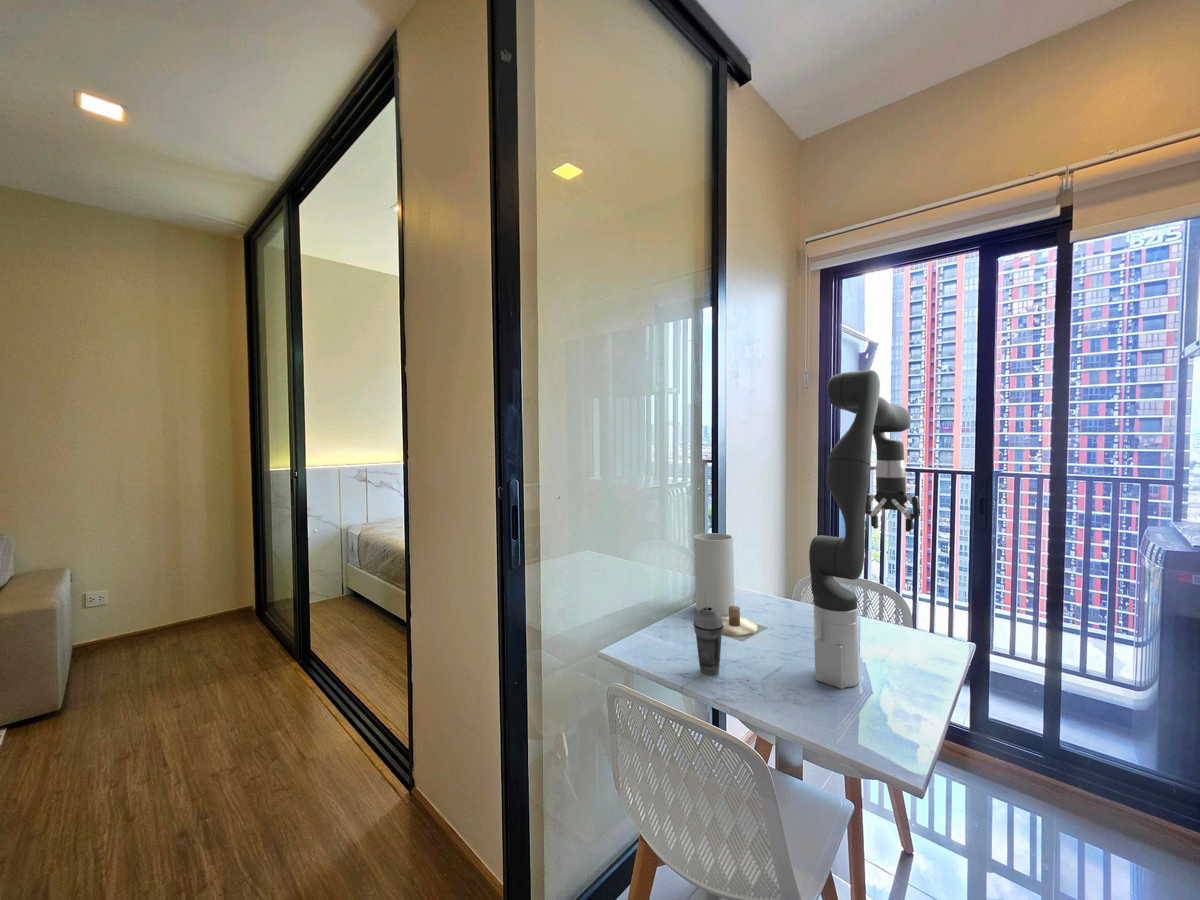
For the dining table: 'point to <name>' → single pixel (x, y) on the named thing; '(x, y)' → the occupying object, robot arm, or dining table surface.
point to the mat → (743, 638)
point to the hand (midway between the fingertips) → (891, 530)
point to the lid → (737, 624)
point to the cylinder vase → (714, 571)
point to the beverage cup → (708, 639)
